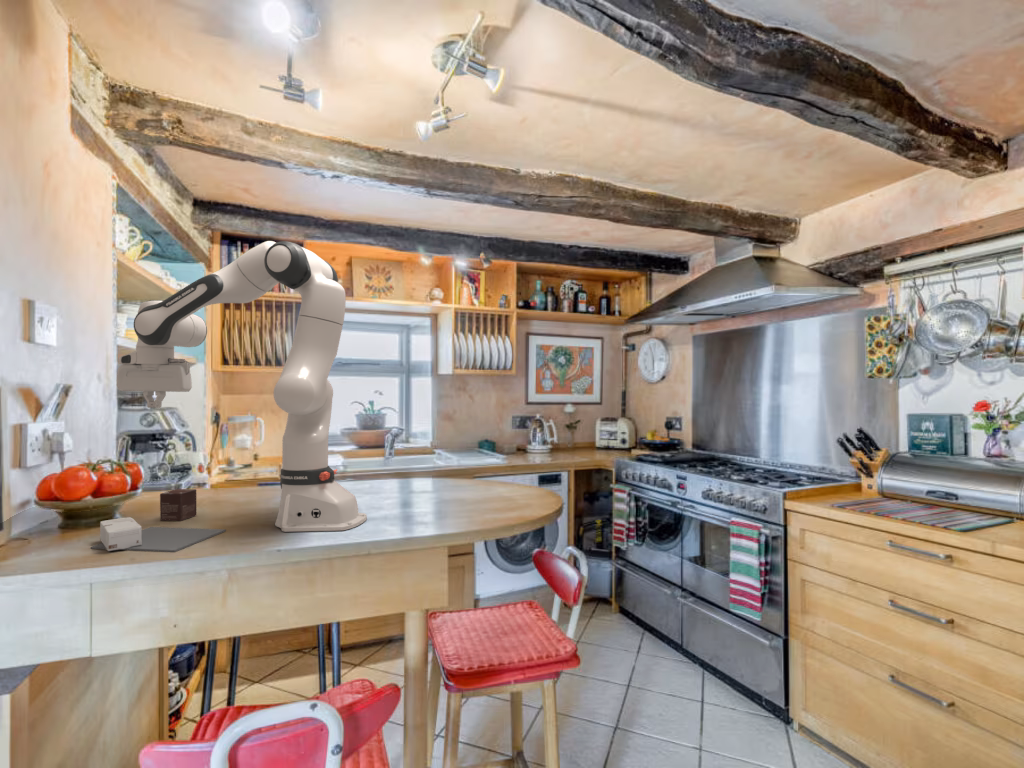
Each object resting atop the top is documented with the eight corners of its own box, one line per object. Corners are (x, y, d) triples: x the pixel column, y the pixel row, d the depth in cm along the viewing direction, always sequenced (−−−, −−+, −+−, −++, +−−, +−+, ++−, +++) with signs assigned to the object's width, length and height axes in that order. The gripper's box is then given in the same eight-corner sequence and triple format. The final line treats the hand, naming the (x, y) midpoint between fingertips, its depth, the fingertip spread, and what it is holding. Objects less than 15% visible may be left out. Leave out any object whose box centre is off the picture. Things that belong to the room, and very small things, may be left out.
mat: (225, 531, 124) (225, 529, 124) (174, 552, 108) (174, 550, 108) (151, 528, 126) (151, 526, 126) (90, 548, 110) (90, 546, 110)
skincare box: (131, 516, 119) (143, 524, 111) (131, 535, 119) (143, 545, 111) (98, 521, 115) (107, 530, 107) (98, 541, 115) (108, 552, 107)
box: (197, 515, 139) (197, 489, 139) (180, 521, 133) (180, 493, 133) (176, 515, 139) (176, 488, 139) (159, 521, 133) (159, 493, 133)
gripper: (197, 359, 144) (196, 408, 144) (132, 359, 147) (131, 406, 146) (180, 358, 138) (179, 408, 138) (112, 357, 140) (111, 407, 140)
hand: (154, 407), depth 142 cm, fingers closed
